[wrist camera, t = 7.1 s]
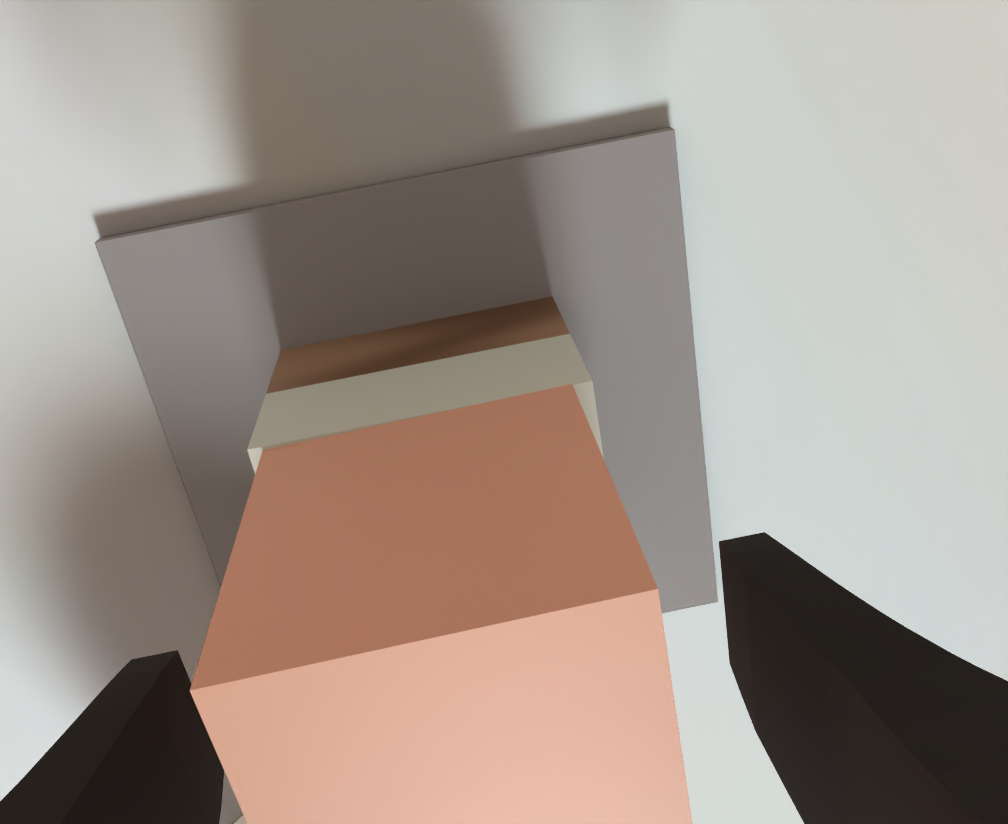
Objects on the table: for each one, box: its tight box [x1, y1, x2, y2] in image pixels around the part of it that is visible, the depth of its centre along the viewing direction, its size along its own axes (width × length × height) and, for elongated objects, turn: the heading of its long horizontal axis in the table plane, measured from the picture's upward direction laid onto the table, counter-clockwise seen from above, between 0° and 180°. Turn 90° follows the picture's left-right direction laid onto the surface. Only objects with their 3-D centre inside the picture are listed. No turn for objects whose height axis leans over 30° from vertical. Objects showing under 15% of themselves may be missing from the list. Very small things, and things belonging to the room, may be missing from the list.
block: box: [190, 384, 692, 824], centre depth 12 cm, size 4×4×5 cm
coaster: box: [95, 127, 718, 613], centre depth 18 cm, size 10×10×1 cm
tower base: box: [266, 296, 570, 394], centre depth 17 cm, size 5×5×2 cm
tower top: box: [247, 334, 604, 474], centre depth 15 cm, size 5×5×2 cm
